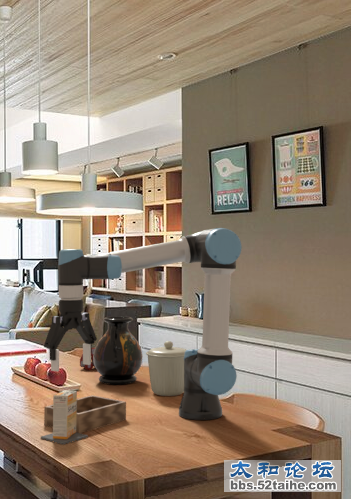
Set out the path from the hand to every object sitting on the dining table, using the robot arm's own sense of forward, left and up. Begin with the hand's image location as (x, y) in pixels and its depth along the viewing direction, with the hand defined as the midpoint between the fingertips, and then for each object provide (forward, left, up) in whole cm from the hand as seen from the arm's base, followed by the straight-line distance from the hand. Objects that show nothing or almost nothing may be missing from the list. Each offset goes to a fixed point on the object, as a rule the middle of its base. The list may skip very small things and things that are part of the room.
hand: (71, 367), depth 202 cm
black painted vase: (+45, -70, -21) cm, 86 cm away
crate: (+7, -13, -21) cm, 26 cm away
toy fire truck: (+76, -86, -21) cm, 117 cm away
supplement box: (-1, +3, -20) cm, 21 cm away
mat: (-1, +4, -21) cm, 21 cm away
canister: (+13, -65, -21) cm, 70 cm away
